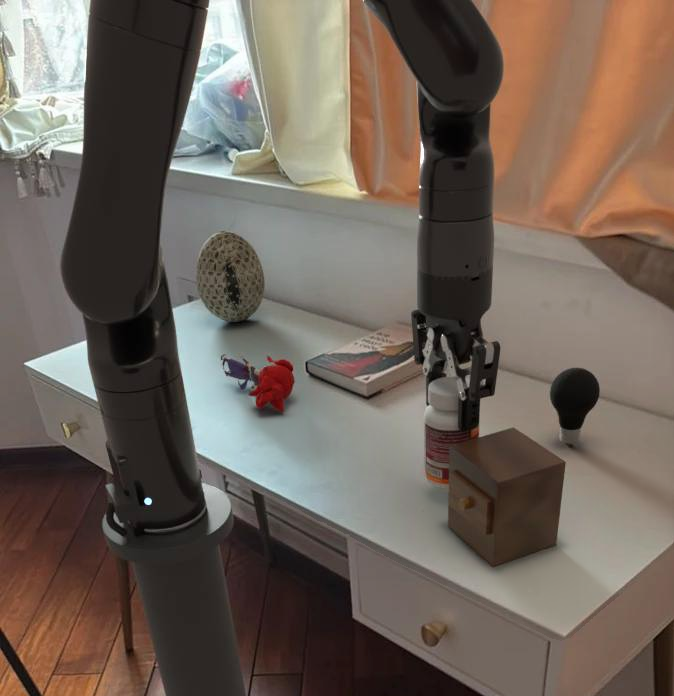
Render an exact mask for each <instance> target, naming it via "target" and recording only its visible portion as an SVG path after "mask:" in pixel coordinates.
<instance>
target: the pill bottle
mask: <svg viewBox="0 0 674 696" xmlns="http://www.w3.org/2000/svg"><path fill="white" fill-rule="evenodd" d="M466 383H467V387H469V383H470V378H467V377H466ZM459 398H460V396H459V392H458V387H457V383H456V380H455V379H453V378H452V377H451V376H446V377H442V378H438V379H436V380H434V381H432V382H431V383H430V384H429V387H428V402H429V404H430V405H429V406H426V408H425V410H424V414H423V441H424V442H423V446H424V447H423V449H424V450H423V451H424V455H423V456H424V457H423V459H424V461H423V463H424V466H423V467H424V477H425V479H426V481H427V482H428V483H429V484H431V485H432V486H434V487H438V488H440V489H441V488H442V489H449V453H450V446H451V445H455V444H458V443H461V442H465V441H468V440H472V439H475V438H479V437H480V423H479V424H478V427H477V428H475V429H472V430H469V431H465V432H463V431H462V430H460V429H459V428H458V400H459ZM480 416H481V415H480ZM480 416H479V420H481V419H480V418H481V417H480Z"/></svg>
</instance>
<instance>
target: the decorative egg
mask: <svg viewBox="0 0 674 696" xmlns="http://www.w3.org/2000/svg"><path fill="white" fill-rule="evenodd" d="M195 267H196V269H195V271H196V272H195V278H196V286H197V290H198V291H197V292H198V294H199V297H200V299H201V302H202V303H203V305H204V306H205V308H206V309H207V310H208V312H210V313H211V314H212V315H213V316H215V317H216V318H217V319H220V320H222V321H224V322H230V323H238V322H243V321H245V320H247V319H249V318H250V317H251V316H253V315H254V314H255V313H256V312H257V310H258V309H259V308H260V306H261V304H262V302H263V299H264V296H265V295H264V294H265V284H266V283H265V275H264V269H263V265H262V263H261V260H260V258H259V256H258V254H257V252H256V250H255V249H254V247H253V246H252V245H251V243H250V242H249V241H247V239H245V238H244V237H243V236H242V235H240V234H238V233H236V232H233V231H230V230H222V231H217V232H215V233H214V234H212V235H211V236H210V237H208V238H207V240H206V241H205V242H204V243H203V245H202V247H201V249H200V251H199V254H198V257H197V261H196V266H195Z"/></svg>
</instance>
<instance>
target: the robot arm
mask: <svg viewBox="0 0 674 696" xmlns="http://www.w3.org/2000/svg"><path fill="white" fill-rule="evenodd" d="M362 1H363V3H364V4H365V6H366V7H367V8H368V10H369V11H370V12H371V14H373V16H374V18H376V20H377V21H379V23H380V24H381V25H382V26H383V27H384V29H385V30H386V31H387V33H388V35H389V37H390V38H391V40H392V41H393V44H394V45H395V47H396V48H397V50H398V53H399V54H400V56H401V57H402V59H403V60H404V62H405V64H406V66H407V68H408V70H409V71H410V72H411V74H412V76H413V78H414V79H415V80H416V98H417V99H416V100H417V102H416V103H417V114H418V115H417V117H418V129H419V140H420V141H419V142H420V163H419V175H418V195H419V196H418V202H419V203H418V208H419V209H418V211H419V212H418V214H419V215H418V225H417V226H418V227H417V233H416V307H417V309H414V310H412V311H410V312H411V313H410V315H411V317H410V318H411V331H412V345H413V359H414V363H415V365H417V366H419V365H421V366H422V368H421V370H422V371H421V372H422V374H423V375H424V376H425V404H426V407H428V406H429V405H430V404H429V402H428V387H429V384H430V383H431V382H432V381H434V380H436V379H438V378H442V377H447V373H446V370H447V368H448V370H449V374H450V375H449V376H450V377H452V378H453V379H455V380H456V383H457V387H458V392H459V396H460V398H459V400H458V428H459V429H460V430H462V431H463V432H465V431H469V430H472V429H475V428H477V427H478V424H479V425H480V419H479V416H481V415H480V413H481V411H480V410H481V399H484V398H488V397H493V396H494V395H495V393H496V387H497V378H498V371H499V363H500V356H501V344H500V342H499V341H498V340H494V341H491V342H489V341H488V340H486V339H485V338H484V333H483V329H482V323H481V322H482V321H481V320H482V319H483V316H484V315H485V314H486V312H488V311H489V310H490V308H491V306H492V297H493V275H494V274H493V273H494V256H495V255H494V253H495V229H494V227H495V226H494V212H493V211H494V193H495V160H494V153H493V150H492V146H491V140H490V130H491V109H492V108H491V106H492V105H491V104H492V102H493V101H494V100H495V99H496V97H497V95H498V94H499V92H500V89H501V86H502V82H503V78H504V71H505V68H504V67H505V61H504V55H503V50H502V47H501V45H500V42H499V40H498V39H497V37H496V35H495V32H493V30H492V28H491V26H490V25H489V24H488V21H487V20H486V19H485V18H484V16H483V15H482V13H481V11H480V10H479V9H478V7H477V6H476V4H475V3H474V1H473V0H362ZM209 7H210V0H90V2H89V11H88V21H87V34H86V36H87V38H86V50H85V62H84V63H85V64H84V65H85V66H84V82H83V83H84V86H83V87H84V88H83V137H82V150H81V151H82V152H81V162H80V166H79V167H80V168H79V174H78V179H77V185H76V190H75V195H74V200H73V204H72V210H71V214H70V217H69V222H68V227H67V231H66V235H65V238H64V242H63V245H62V248H61V252H60V256H59V271H60V279H61V282H62V285H63V288H64V290H65V293H66V294H67V295H66V296H68V298H69V300H70V302H71V303H72V304H73V306H74V307H75V308H76V309H77V310H78V312H80V314H81V316H82V320H83V324H84V330H85V331H84V332H85V340H86V352H87V354H86V355H87V365H88V368H89V373H90V376H91V380H92V383H93V388H94V393H95V395H96V396H95V397H96V400H97V404H98V408H99V412H100V416H101V420H102V425H103V429H104V432H105V436H106V441H105V442H104V443H105V447H106V452H107V455H108V456H107V457H108V460H109V465H110V467H111V472H112V475H113V478H114V482H111V483H107V484H104V487H105V491H106V492H105V493H106V496H107V499H108V504H107V508H106V512H105V514H106V521H107V523H108V525H109V527H110V528H111V529H112V530H114V531H115V532H117V533H118V534H120V535H121V536H122V537H123V536H125V535H126V534H127V533H128V532H127V530H126V529H124V528H123V527H121V526H120V525H119V524H117V523H116V522H115V520H114V512H115V514H116V516H117V518H118V520H119V522H120V523H123V522H126V521H127V523H128V525H129V526H130V528H131V529H132V531H133V533H134V535H135V536H136V537H138V536H141V535H167V534H173V533H177V532H180V531H183V530H186V529H188V528H190V527H192V526H194V525H195V524H197V523H198V522H200V521H201V520H202V519H203V517H204V516H205V514H206V512H207V504H206V500H205V496H204V491H203V487H202V483H203V481H202V479H203V475H202V472H201V471H202V470H201V469H200V465H199V460H198V454H197V449H196V444H195V439H194V433H193V427H192V422H191V416H190V411H189V406H188V400H187V395H186V389H185V384H184V378H183V373H182V367H181V366H182V365H181V361H180V356H179V355H180V353H179V347H178V336H177V328H176V322H175V317H174V310H173V304H172V298H171V291H170V286H169V280H168V274H167V269H166V263H165V258H164V254H163V248H162V246H161V235H162V234H161V233H162V222H163V212H164V203H165V195H166V188H167V183H168V177H169V172H170V168H171V164H172V161H173V158H174V154H175V151H176V148H177V145H178V141H179V139H180V134H181V132H182V129H183V126H184V122H185V118H186V114H187V112H188V107H189V103H190V100H191V96H192V92H193V88H194V83H195V79H196V76H197V71H198V66H199V62H200V59H201V51H202V46H203V43H204V42H203V41H204V36H205V29H206V24H207V17H208V13H209V10H208V9H209ZM424 343H425V346H424V349H423V344H424ZM470 362H471V366H469V367H466V368H461V367H460V365H464V364H468V363H470ZM467 376H469V379H470V383H469V387H467V383H466V378H467ZM484 381H485V382H484ZM484 383H485V384H484Z"/></svg>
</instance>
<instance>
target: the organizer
mask: <svg viewBox="0 0 674 696" xmlns="http://www.w3.org/2000/svg"><path fill="white" fill-rule="evenodd" d="M566 464H567V461H565V460H564V459H562V458H561V457H560V456H558V455H557V454H555V453H554V452H552V451H551V450H549V449H547V447H544V446H543V445H541V444H540V443H538V442H537V441H535V440H534V439H532V438H531V437H529V436H527V435H526V434H524V433H523V432H521V431H520V430H518V429H517V428H515V427H509V428H506V429H503V430H500V431H496V432H492V433H490V434H485V435H482V436H479V438H475V439H472V440H468V441H465V442H461V443H458V444H455V445H451V446H450V453H449V488H448V506H447V507H448V509H447V527H448V528H449V529H450V530H451V531H452V532H454V534H455V535H457V536H458V537H459V538H460V539H461V540H463V541H464V542H465V544H467V545H468V546H469V547H470V548H471V549H473V550H474V551H475V552H476V553H477V554H478V555H479V556H480V557H482V558H483V559H484V560H485V561H486V562H487V563H488V564H489V565H490V566H492V567H497V566H500V565H503V564H505V563H508V562H511V561H514V560H516V559H519V558H523V557H525V556H528V555H531V554H534V553H537V552H540V551H543V550H545V549H548V548H551V547H555V546H557V544H558V543H557V541H558V534H559V524H560V516H561V507H562V499H563V489H564V482H565V481H564V480H565V474H566V473H565V472H566V466H567V465H566Z"/></svg>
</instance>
